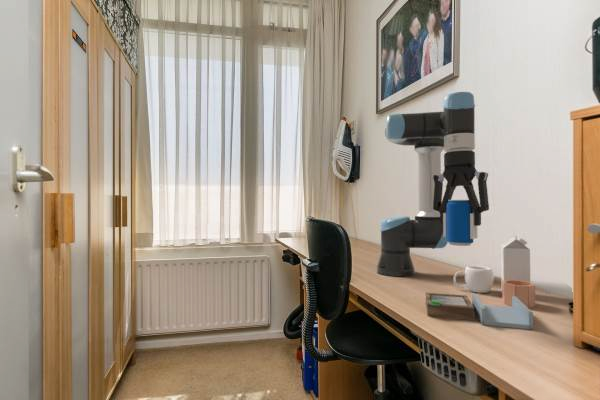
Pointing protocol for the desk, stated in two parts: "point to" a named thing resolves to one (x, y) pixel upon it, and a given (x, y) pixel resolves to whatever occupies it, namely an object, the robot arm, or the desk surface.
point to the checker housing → (449, 308)
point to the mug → (477, 278)
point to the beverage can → (458, 222)
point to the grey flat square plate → (449, 300)
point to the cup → (518, 292)
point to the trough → (504, 314)
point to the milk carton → (515, 260)
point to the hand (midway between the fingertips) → (460, 237)
